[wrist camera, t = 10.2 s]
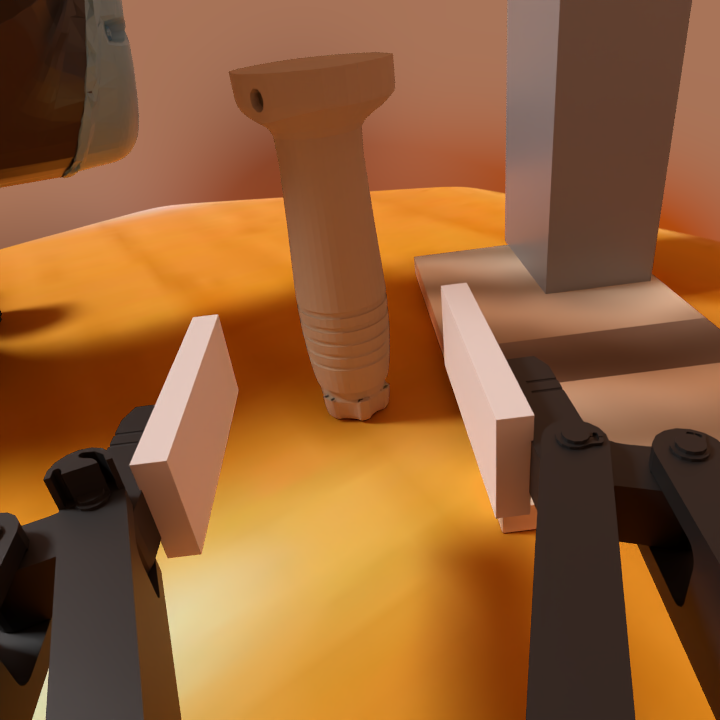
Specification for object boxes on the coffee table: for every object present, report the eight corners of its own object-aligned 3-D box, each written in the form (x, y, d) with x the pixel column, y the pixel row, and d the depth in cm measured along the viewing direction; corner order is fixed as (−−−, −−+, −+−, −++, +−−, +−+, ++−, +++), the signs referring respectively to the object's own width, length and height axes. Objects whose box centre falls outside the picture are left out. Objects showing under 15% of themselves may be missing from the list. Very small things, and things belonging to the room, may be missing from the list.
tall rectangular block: (505, 240, 42) (507, -10, 34) (594, 229, 41) (617, -25, 34) (545, 294, 34) (560, -14, 26) (655, 280, 34) (703, -34, 26)
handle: (367, 457, 25) (311, 72, 18) (278, 404, 30) (203, 75, 22) (440, 405, 28) (419, 49, 20) (349, 362, 32) (304, 56, 25)
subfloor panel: (415, 273, 42) (414, 256, 41) (600, 249, 41) (601, 232, 41) (502, 533, 21) (503, 508, 20) (871, 488, 21) (883, 462, 20)
